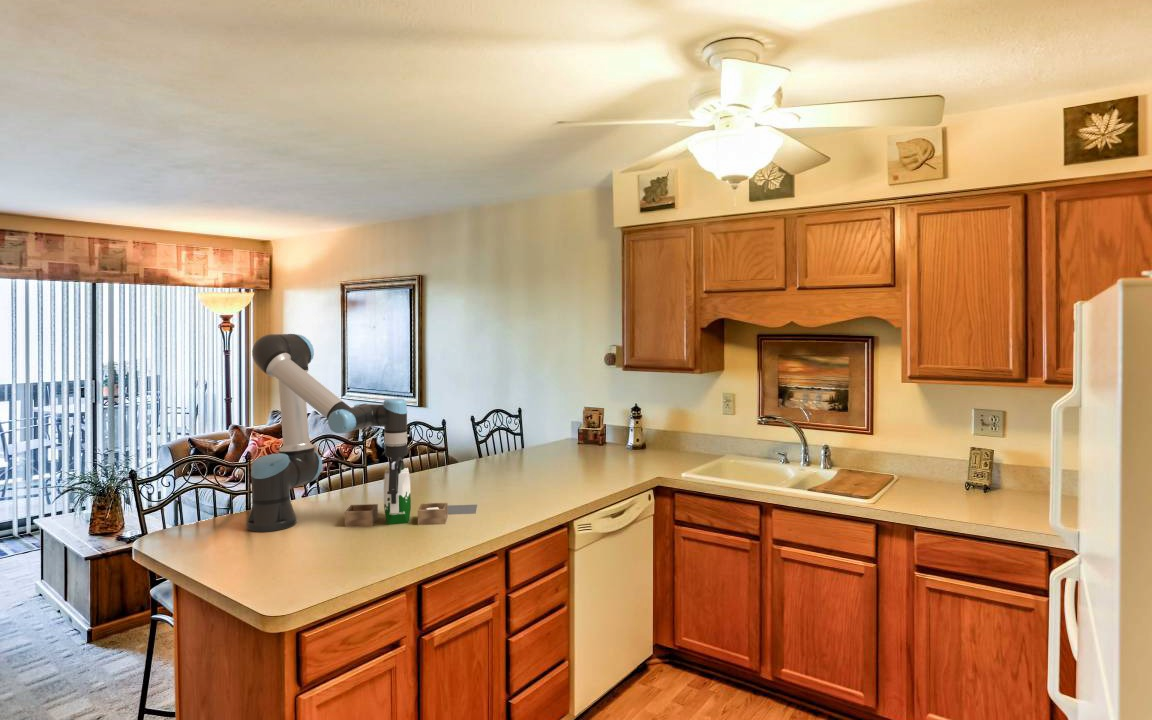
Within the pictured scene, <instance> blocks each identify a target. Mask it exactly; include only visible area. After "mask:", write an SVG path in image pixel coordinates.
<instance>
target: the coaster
mask: <svg viewBox="0 0 1152 720" xmlns="http://www.w3.org/2000/svg"><path fill="white" fill-rule="evenodd" d="M477 508H478V504H456V505H455V504H453V505H451V504H450V505H449V504H448V516H449V515H474V514H476V513H477Z"/></svg>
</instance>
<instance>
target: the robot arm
mask: <svg viewBox="0 0 1152 720" xmlns="http://www.w3.org/2000/svg"><path fill="white" fill-rule="evenodd" d="M251 352H252V359H253V361H254V364H255V365H256V366H257V367H258V368H259V370H261V371H262V372H263V373H265V374H266V376H268V377H270V378H275V379H277V381H278V393H279V407H280V416H281V417H280V419H281V430H282V434H281V435H282V444H283V445H282V446H281V447H280V448H279V449H278V451H279V452H278V453H271V454H266V455H263V456H260V457H259V456H258V458H256V459H253V461H252V463H251V467H250V468H251V471H250V477H251V481H250V482H251V503H252V505H251V508H250V512H249V515H248V518H247V522H246V528H247V530H248V531H251V532H254V533H255V532H256V533H265V532H275V531H281V530H287V529H289V528H291V527H294V526H295V525H296V524H297V515H296V512H295V509H294V507H293V504H292V502H291V490H292V489H295V488H297V487H301V486H302V485H303V486H304V485H307V484H309V483H311V482H313V481H315V480H317V479H318V477H319V476H320V475H321V472H322V469H323V459H322V457H321V455H319V453H318V452H317V451H316V450H315V445H314V444H312V442H310V435H309V434H310V433H309V432H310V431H309V422H308V408H307V406H308V405H309V406H310V407H312V408H313V409H315V410H316V412H318V413H319V414H320V415H321V416H323V417H324V418H325V419H327V425H328V427H329V429H330V430H331V431H332V432H333V433H336V434H344V433H351V432H352V431H356V430H357V431H358V430H361V429H365V428H369V427H384V436H383V437H384V445H385V446H384V456H385V457H386V458H390V459H391V461H390V462H389V464H388V469H389V491H388V492H387V494H390V513H399V495H398V481H399V474H400V473H401V467H402V468H405V465H404V463H405V462H404V458H405V457H407V456H408V454H409V451H408V449H409V446H408V444H407V443H408V438H409V437H410V434H408V408H407V407H408V406H407V401H406V400H405V399H404V398H386V399H385V400H384V401H383V404H370V403H359V404H358V403H357V404H355V405H354V406H353V407H351V406H349V405H348V404H347V403H345V402H344V401H343V400H342V399H341V398H339V396H337V395H336V394H334V393H333V392H332V391H331V390H329V389H328V388H327V387H326V386H324V384H322V383H321V382H319V381H318V380H317V379H316V378H315V377H314V376H312V375H310V373H308V372H309V364H311V362H312V360H314V355H315V353H314V352H315V351H314V347H313V344H312V342H311V341H310V340H309V339H308V338H307V337H306V336H304V335H302V334H296V333H283V334H282V333H280V334H279V333H277V334H273V333H272V334H265V335H263V336H261V337H259V338H258V339H257V340H256V341H255V342H254V344H253V347H252V350H251ZM307 404H308V405H307ZM392 489H395V490H392Z"/></svg>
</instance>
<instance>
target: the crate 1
mask: <svg viewBox="0 0 1152 720" xmlns="http://www.w3.org/2000/svg"><path fill="white" fill-rule="evenodd" d="M378 507H379V505H378V503H377V504H376V503H367V504H350V506H348V507H347V508H346V510H345V511H344V513H343V514H344V528H349V527H351V528H353V527H372V526H374V525H375V523H376V522H377V521H378V519H379V508H378Z"/></svg>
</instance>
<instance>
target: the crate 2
mask: <svg viewBox="0 0 1152 720" xmlns="http://www.w3.org/2000/svg"><path fill="white" fill-rule="evenodd" d="M448 506H449V504H448V502H429V503H428V502H427V503H426V502H425V503H423V502H422V503H421V504H420V505H419V507H418V508H417V526H424V525H425V526H434V525H446V523H447V519H448V518H449V517H448V516H449V515H448ZM433 507H438V508H439V509H430V510H426V508H433Z"/></svg>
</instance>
